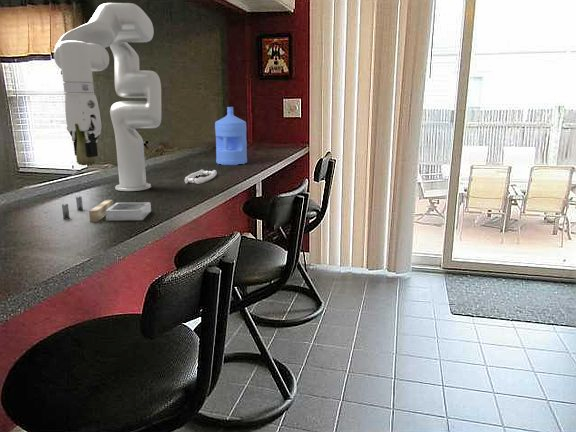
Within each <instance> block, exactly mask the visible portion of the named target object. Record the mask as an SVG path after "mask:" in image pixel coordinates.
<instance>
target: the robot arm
mask: <svg viewBox="0 0 576 432" xmlns="http://www.w3.org/2000/svg"><path fill="white" fill-rule="evenodd" d="M153 25H154V24H153V22H152V20H151V18H150V17H149V16H148V15H147V13H146V12H145V11H144V10H143V9H142V8H141V6H138V5H137V4H136V3H132V2H131V3H130V2H106V3H102V4H100V5H99V6H98V7H97V8H96V10H95V12H94V13H93V14H92V17H90V19H89V20H88V22H87V23H84V24H82V25H80V26H78V27H75V28H73V29H70V30H69V31H67V32H65V33H64V34H63V35H62V36H61V37H60V38H59V40H58V41H57V43H56V44H55V47H54V52H53V58H54V62H55V64H56V66H57V67H58V68H59V69H61V75H62V84H63V92H64V108H65V120H66V130H67V131H68V133H69V135H70V136H71V140H72V144H73V150H74V156H75V157H76V155H77V134H76V128H75V124H78V128H79V131H81V132H84V134H85V138H86V142H87V143H85V147H86V156H87V157H96V158H97V157H98V156H99V153H98V144H97V143H98V140H99V139H98V138H99V137H100V134H101V133H102V126H103V125H102V119H101V112H100V107H99V103H98V99H97V96H96V94H95V87H94V86H95V85H94V77H93V72H102V71H105V70H106V69H107V68H108V66H109V65H110V55H109V52H108V51H107V49H106V48H108V47H109V48H110V50H111V52H112V55H113V61H114V62H113V63H114V67H113V68H114V70H113V72H114V74H113V75H114V90H115V93H116V95H117V96H118V97H120V98H127V99H146V100H139V101H138V100H121V101H117V102H114V103H113V104H112V105H111V107H110V109H109V115H110V119H111V123H112V127H113V131H114V137H115V146H116V147H115V150H116V159H117V161H116V162H117V170H118V171H117V172H118V182H119V184H116V185H115V187H114V188H115V190H116V191H119V192H136V191H137V192H140V191H146V190H149V189H151V188H152V184H151V183H148V182H147V177H146V176H147V174H146V162H145V161H146V160H145V158H146V157H145V147H144V140H143V137H142V136H141V135H140V133H139V132H138V131H137V129H156V128H158V127H160V125H161V122H162V83H161V79H160V76H159V74H158V73H157V72H155V71H153V70H140V56H139V54H138V53H137V51H135V49H134V48H133V47H132V46H131V45H130V44H129V43H148V42H150V41H152V39H153V37H154V33H155V32H154V26H153ZM89 129H90V131H89ZM89 134H91V135H90V137H89Z"/></svg>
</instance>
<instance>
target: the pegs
mask: <svg viewBox="0 0 576 432" xmlns="http://www.w3.org/2000/svg"><path fill="white" fill-rule="evenodd" d="M75 201H76V210H77V211H83V210H84V206H83V205H84V204H83V197H82V196H80V195H77V196H75ZM61 211H62V217H63V220H67V219H70V217H71V216H70V211H69V204H68V203H62V204H61Z"/></svg>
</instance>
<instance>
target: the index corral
mask: <svg viewBox="0 0 576 432" xmlns="http://www.w3.org/2000/svg"><path fill="white" fill-rule="evenodd" d="M151 205H152V204H151V202H150V201H148V202H145V201H144V202H115V203H113V205H112V206H111V207H110V208H108V209H107V210H105V215H106V216H105V221H107V222H108V221H144V219H145V218H146V217H147V216H148V215H150V213H151V212H152V207H151Z"/></svg>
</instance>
